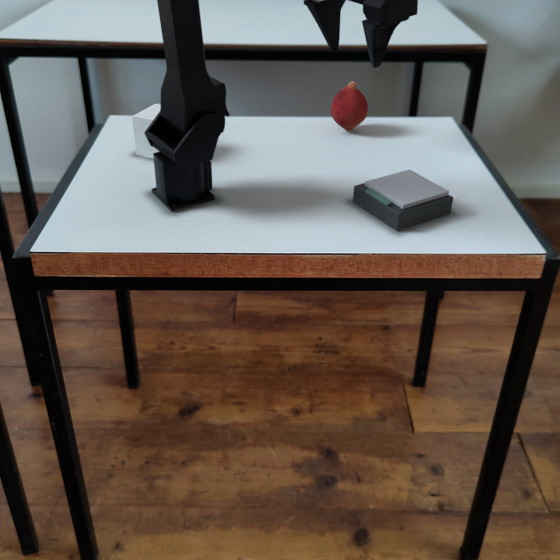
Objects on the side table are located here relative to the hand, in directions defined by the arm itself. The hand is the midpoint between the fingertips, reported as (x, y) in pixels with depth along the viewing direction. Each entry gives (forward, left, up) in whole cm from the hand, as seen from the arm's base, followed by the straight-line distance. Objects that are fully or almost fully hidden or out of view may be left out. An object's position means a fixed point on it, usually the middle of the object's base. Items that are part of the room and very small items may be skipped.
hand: (354, 58), depth 97 cm
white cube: (-24, +14, -14) cm, 31 cm away
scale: (-5, -18, -14) cm, 23 cm away
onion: (+5, +7, -14) cm, 17 cm away
